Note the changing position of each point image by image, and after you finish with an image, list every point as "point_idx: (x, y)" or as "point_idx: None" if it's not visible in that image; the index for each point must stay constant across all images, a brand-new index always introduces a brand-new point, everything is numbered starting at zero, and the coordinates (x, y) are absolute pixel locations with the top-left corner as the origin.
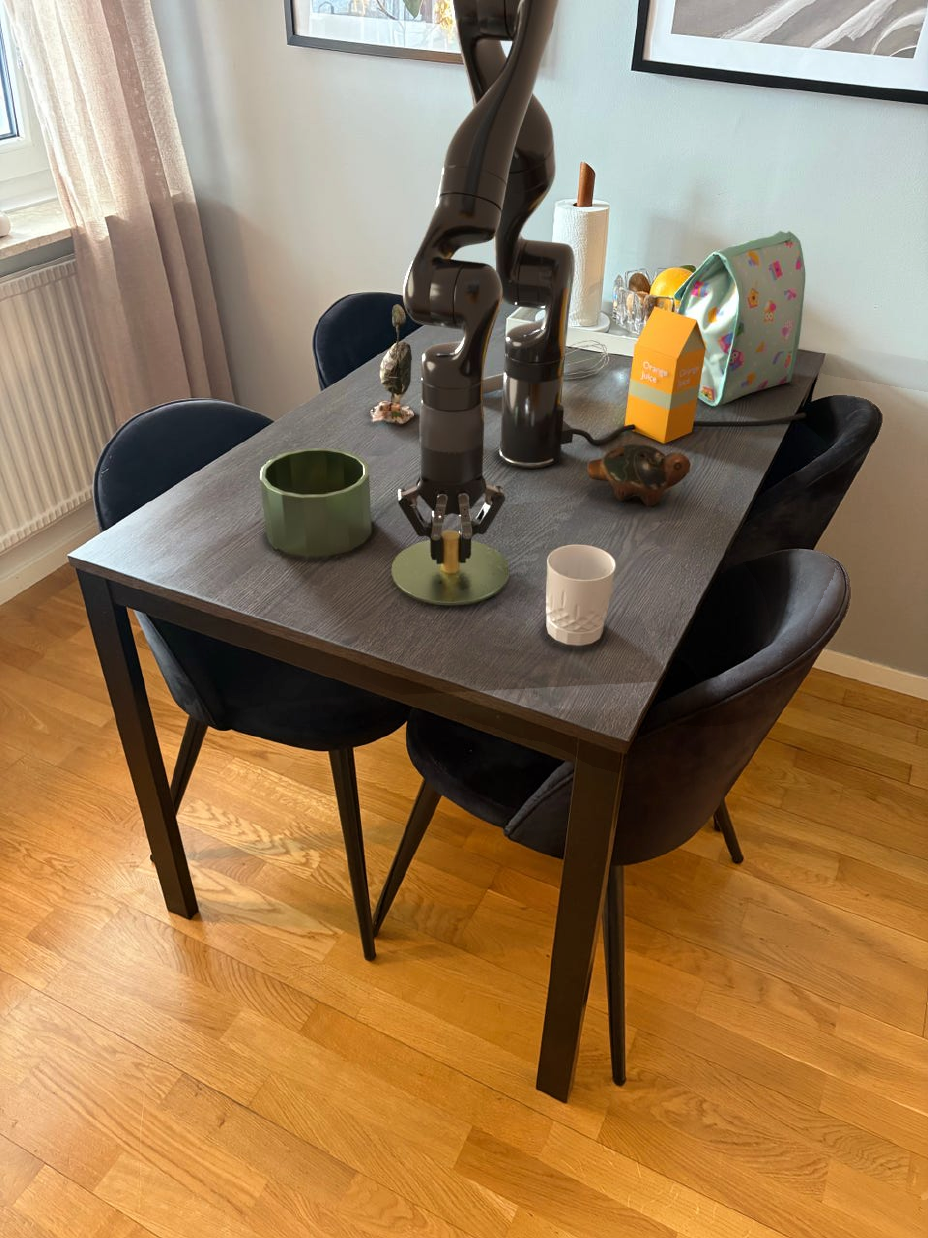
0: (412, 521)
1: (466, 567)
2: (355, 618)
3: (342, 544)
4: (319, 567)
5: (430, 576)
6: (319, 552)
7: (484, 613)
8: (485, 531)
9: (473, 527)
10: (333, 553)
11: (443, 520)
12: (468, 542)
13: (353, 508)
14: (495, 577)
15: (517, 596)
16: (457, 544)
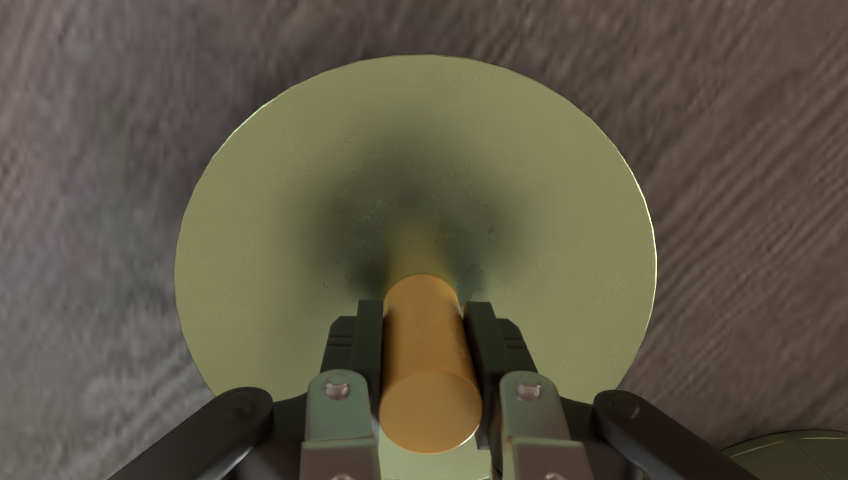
0: (725, 469)
1: (354, 308)
2: (813, 82)
3: (766, 477)
4: (826, 393)
5: (509, 262)
6: (834, 450)
7: (308, 53)
8: (219, 397)
9: (293, 431)
10: (781, 447)
11: (515, 458)
12: (336, 366)
13: None
14: (236, 227)
15: (164, 160)
16: (397, 357)
